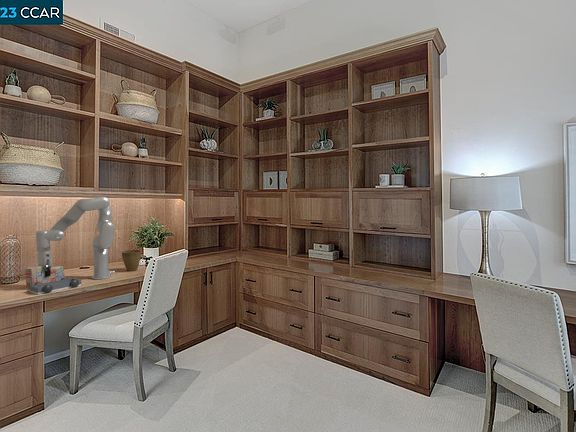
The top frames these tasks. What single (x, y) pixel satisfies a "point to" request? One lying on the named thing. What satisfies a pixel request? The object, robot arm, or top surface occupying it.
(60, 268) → the stack of blocks
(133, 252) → the plant pot
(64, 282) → the chassis
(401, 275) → the top surface
